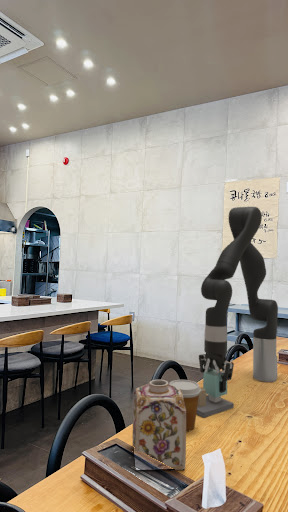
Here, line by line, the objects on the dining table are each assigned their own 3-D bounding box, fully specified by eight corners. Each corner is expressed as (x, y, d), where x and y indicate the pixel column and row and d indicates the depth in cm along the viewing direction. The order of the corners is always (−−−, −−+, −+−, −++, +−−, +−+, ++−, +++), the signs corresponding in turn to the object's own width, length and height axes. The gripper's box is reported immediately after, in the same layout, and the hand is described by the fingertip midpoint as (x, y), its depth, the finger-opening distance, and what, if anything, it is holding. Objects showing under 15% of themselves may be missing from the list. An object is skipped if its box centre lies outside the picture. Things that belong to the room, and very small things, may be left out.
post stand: (211, 398, 121) (211, 373, 121) (233, 407, 113) (233, 381, 113) (181, 406, 113) (181, 380, 113) (203, 417, 105) (203, 389, 105)
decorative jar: (186, 471, 77) (187, 390, 78) (134, 472, 76) (136, 390, 77) (176, 444, 89) (178, 374, 89) (132, 445, 88) (133, 374, 89)
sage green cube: (214, 389, 119) (214, 369, 119) (227, 394, 114) (227, 374, 114) (203, 392, 116) (203, 372, 116) (215, 397, 111) (215, 376, 111)
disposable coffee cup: (202, 422, 102) (203, 381, 102) (196, 437, 93) (197, 392, 93) (171, 417, 105) (172, 377, 105) (163, 431, 96) (163, 387, 96)
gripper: (240, 341, 112) (239, 393, 111) (208, 334, 124) (207, 381, 123) (224, 344, 108) (224, 398, 107) (192, 336, 119) (192, 385, 119)
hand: (215, 389), depth 115 cm, fingers closed on sage green cube, 5 cm apart
